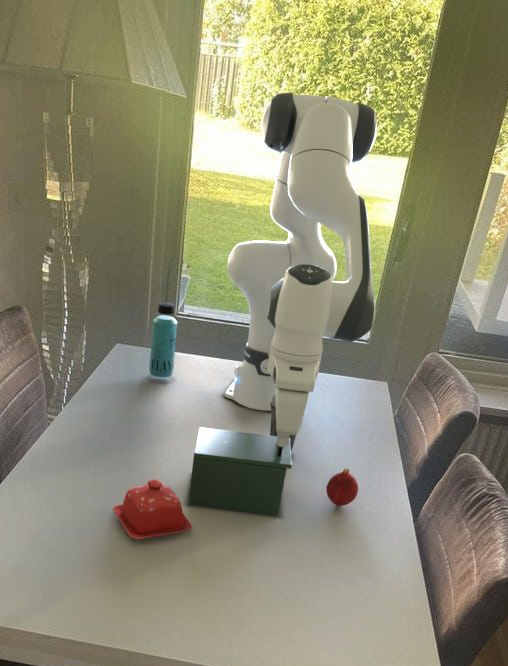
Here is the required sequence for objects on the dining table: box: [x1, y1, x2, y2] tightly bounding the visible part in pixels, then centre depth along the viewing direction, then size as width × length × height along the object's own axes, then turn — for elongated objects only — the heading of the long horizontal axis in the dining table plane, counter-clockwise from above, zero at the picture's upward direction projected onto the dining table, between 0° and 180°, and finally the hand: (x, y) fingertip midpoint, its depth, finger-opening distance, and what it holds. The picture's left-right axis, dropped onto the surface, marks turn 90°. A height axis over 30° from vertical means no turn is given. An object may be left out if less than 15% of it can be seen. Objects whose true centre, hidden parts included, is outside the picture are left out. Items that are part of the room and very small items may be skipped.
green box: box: [188, 456, 287, 517], centre depth 131 cm, size 17×12×10 cm
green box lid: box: [193, 426, 293, 470], centre depth 127 cm, size 17×12×5 cm, turn 84°
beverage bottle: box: [148, 302, 178, 378], centre depth 180 cm, size 6×7×20 cm
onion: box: [325, 467, 359, 507], centre depth 131 cm, size 6×6×8 cm
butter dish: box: [112, 478, 193, 540], centre depth 119 cm, size 12×12×8 cm
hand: (281, 436), depth 126 cm, fingers closed on green box lid, 6 cm apart
